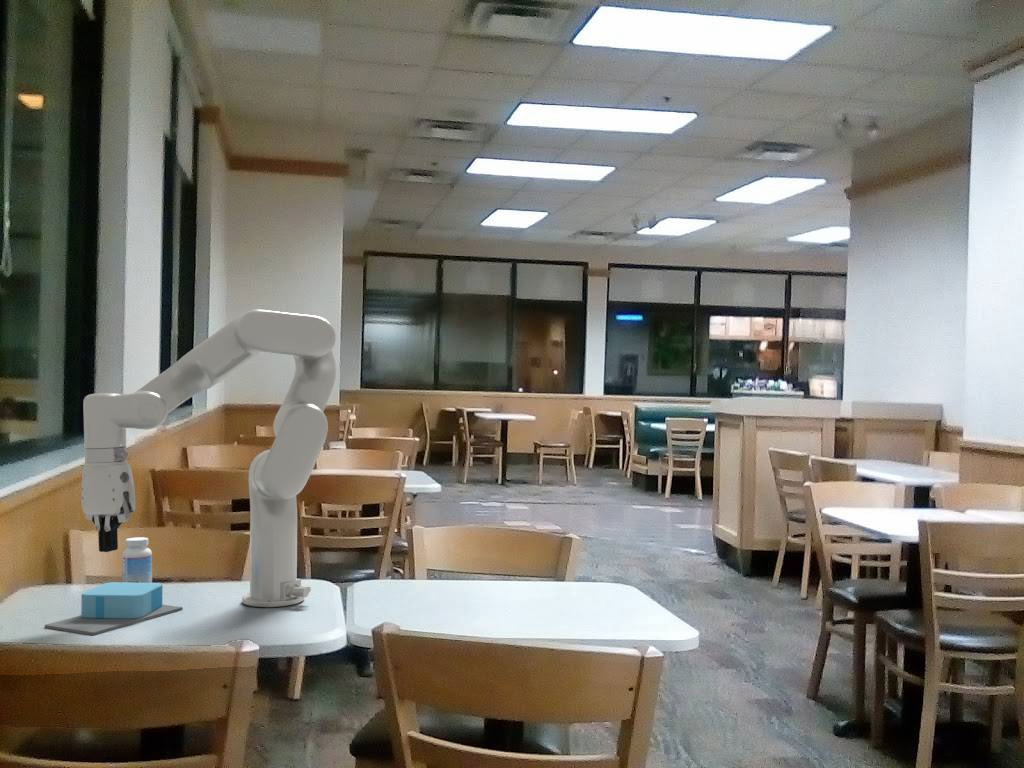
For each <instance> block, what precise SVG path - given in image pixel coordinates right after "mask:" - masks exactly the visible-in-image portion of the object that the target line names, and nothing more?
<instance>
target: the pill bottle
mask: <svg viewBox="0 0 1024 768" xmlns="http://www.w3.org/2000/svg"><path fill="white" fill-rule="evenodd" d="M148 546H149V538H148V537H144V536H143V537H142V536H141V537H140V536H139V537H137V536H136V537H129V538H126V539H125V547H126V549H124V550H123V552H122V559H121V561H122V563H121V564H122V567H121V568H122V571H121V572H122V573H121V575H122V582H131V583H153V553H152V550H151V549H150V548H149V547H148Z"/></svg>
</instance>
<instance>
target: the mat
mask: <svg viewBox="0 0 1024 768" xmlns="http://www.w3.org/2000/svg"><path fill="white" fill-rule="evenodd" d="M179 611H183V606H175V605H169V604H162V606H161V607H160V608H158V609H156V610H154V611H153V612H151V613H149V614H147V615H145V616H144V617H142V618H137V619H110V618H83V617H82V616H81V615H77V616H74V617H70V618H66V619H63V620H57V621H53V622H50V623H47V624H44V628H45V629H51V630H59V631H64V632H71V633H78V634H84V635H91V636H96V635H100V634H102V633H106V632H109V631H113V630H115V629H116V630H117V629H121V628H123V627H124V628H125V627H127V626H130V625H134V624H138V623H141V622H144V621H148V620H151V619H155V618H159V617H163V616H166V615H169V614H172V613H176V612H179Z"/></svg>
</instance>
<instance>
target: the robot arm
mask: <svg viewBox="0 0 1024 768" xmlns="http://www.w3.org/2000/svg"><path fill="white" fill-rule="evenodd" d="M336 338H337V336H336V330H335V328H334V326H333V324H332V323H331V322H330V321H328V320H327V319H326V318H323V317H321V316H317V315H312V314H311V315H310V314H300V313H291V312H284V311H281V312H280V311H275V310H268V309H266V310H265V309H251V310H249V311H246V312H243V313H241V314H239V315H238V316H237V317H235V318H234V319H232V320H231V321H230V322H228V323H227V324H225V325H224V326H222V327H221V328H220V329H219V330H217V331H215V332H214V333H213V334H211V335H210V336H209V337H207V338H206V339H205V340H204V341H202V342H201V343H199V344H197V346H195V347H194V348H192V349H190V351H188V352H187V353H186V354H184V355H183V356H182V357H180V359H178V360H177V361H176V362H175V363H173V364H172V365H171V366H169V367H168V368H167V369H165V370H164V371H162V372H161V373H160V374H158V375H157V376H156V377H154V378H153V379H152V380H150V381H149V382H147V383H145V384H144V385H143V386H142V387H140V388H139V389H137V390H136V391H135V392H133V393H125V394H120V393H115V392H113V393H112V392H111V393H110V392H105V393H104V392H103V393H91V394H90V393H89V394H88V395H87V394H86V396H84V398H83V404H82V405H83V409H82V410H83V436H84V437H83V439H84V440H83V441H84V442H83V444H84V464H83V468H82V469H83V470H82V475H81V491H80V492H81V493H80V494H81V495H80V500H81V509H82V512H83V513H84V514H85V516H84V517H85V520H87V521H91V522H92V523H93V524H94V527H95V528H94V529H95V530H96V531H97V533H98V534H97V535H98V551H99V552H101V553H109V552H113V551H117V550H118V548H119V541H118V539H119V537H118V530H120V529H121V525H122V523H125V522H129V521H130V520H131V515H130V514H132V513H135V510H136V492H135V491H136V490H135V484H134V482H135V481H134V476H133V471H132V468H131V465H130V464H131V463H130V462H128V461H127V460H128V457H129V453H128V451H127V430H126V429H135V430H152V429H156V428H158V427H160V426H161V425H162V424H164V422H165V421H166V419H167V418H168V414H169V413H171V412H172V411H174V410H175V409H176V408H178V407H179V406H180V405H182V404H183V403H185V402H186V401H188V400H189V399H190V398H193V397H194V396H196V395H197V394H199V393H202V392H204V391H207V390H210V389H211V388H213V387H214V386H216V385H218V384H220V383H221V382H223V380H225V379H226V378H228V377H229V376H230V375H231V374H232V373H234V372H236V371H237V370H238V369H239V368H241V367H242V366H244V365H245V364H246V363H248V362H249V361H250V360H252V359H253V358H254V357H256V356H257V355H258V354H259V353H261V352H264V353H269V354H279V355H287V356H288V355H289V356H293V358H294V363H295V371H294V375H293V377H292V380H291V384H290V386H289V388H288V390H287V393H286V395H285V396H284V399H283V401H282V403H281V405H280V407H279V410H278V411H277V413H276V415H275V417H274V420H273V425H272V427H273V429H272V430H273V432H274V435H275V437H274V440H273V442H272V445H271V447H270V449H267V450H264V451H262V452H260V453H259V454H257V456H255V457H254V459H253V460H252V461H251V463H250V467H249V469H248V491H249V505H250V507H249V509H250V510H249V511H250V518H249V520H250V521H249V522H250V527H249V529H250V530H249V538H250V539H249V542H250V544H249V593H248V592H247V593H246V594H244V595H242V597H241V602H242V603H243V605H245V606H249V607H255V608H280V607H287V606H293V605H296V604H299V603H301V602H303V601H304V600H305V598H307V597H309V595H310V593H311V590H312V588H311V587H310V586H306V585H302V579H301V578H297V577H298V570H297V569H298V503H297V502H298V501H297V500H298V499H297V495H298V494H300V493H301V492H302V491H303V489H304V487H306V484H307V482H308V480H309V479H310V477H311V475H312V472H313V470H314V468H315V465H316V463H317V461H318V458H319V456H320V454H321V451H322V449H323V447H324V446H325V442H326V440H327V436H328V430H329V423H328V422H329V421H328V418H327V416H326V414H325V413H324V412H325V409H326V407H327V405H328V401H329V398H330V396H331V394H332V391H333V388H334V386H335V381H336V374H337V368H336V367H337V366H336V361H335V357H334V354H333V350H332V349H333V347H334V346H335V343H336Z"/></svg>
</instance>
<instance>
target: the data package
mask: <svg viewBox="0 0 1024 768" xmlns="http://www.w3.org/2000/svg"><path fill="white" fill-rule="evenodd" d="M80 605H81V610H80V611H81V612H80V614H81V615H80V616H82V617H83V618H110V619H137V618H142V617H144V616H145V615H147V614H149V613H151V612H153V611H154V610H156V609H158V608H160V607H161V606H162V605H163V584H162V583H161V582H152V583H131V582H121V581H117V582H116V581H115V582H113V581H111V582H104V583H101V584H100V585H98V586H96V587H94V588H92V589H89V590H87V591H84V592H82V593H81V604H80Z"/></svg>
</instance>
